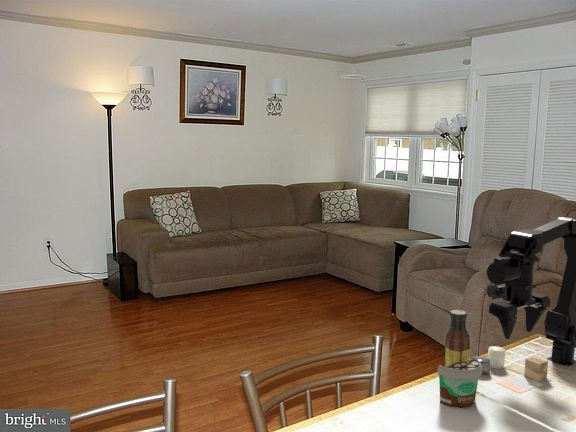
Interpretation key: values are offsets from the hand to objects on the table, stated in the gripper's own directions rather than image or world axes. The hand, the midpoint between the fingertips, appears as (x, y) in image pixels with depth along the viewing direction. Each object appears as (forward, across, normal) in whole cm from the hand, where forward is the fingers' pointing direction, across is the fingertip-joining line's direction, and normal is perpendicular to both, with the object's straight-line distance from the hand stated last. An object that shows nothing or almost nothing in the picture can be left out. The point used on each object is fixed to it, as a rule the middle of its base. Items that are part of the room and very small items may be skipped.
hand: (518, 335), depth 142 cm
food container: (+12, +24, +3) cm, 27 cm away
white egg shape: (+12, 0, -7) cm, 14 cm away
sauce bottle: (+12, +18, -5) cm, 22 cm away
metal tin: (+12, +7, -6) cm, 15 cm away
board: (+12, +2, +4) cm, 13 cm away
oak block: (+11, -3, +4) cm, 12 cm away
